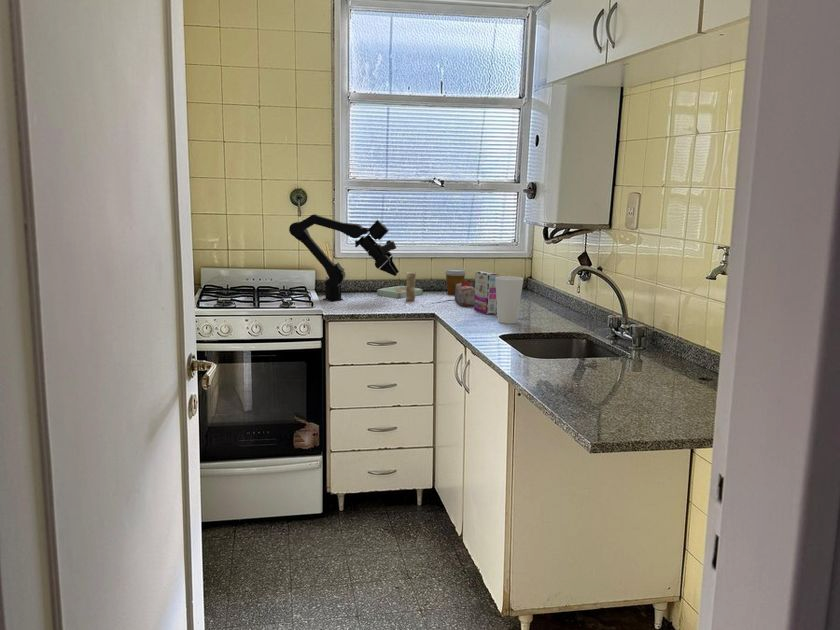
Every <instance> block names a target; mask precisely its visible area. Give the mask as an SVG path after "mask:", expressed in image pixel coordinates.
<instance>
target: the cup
mask: <svg viewBox="0 0 840 630" xmlns="http://www.w3.org/2000/svg"><path fill="white" fill-rule="evenodd" d="M524 280H525V279H524V277H521V276H515V275H514V276H513V275H500V276H497V277H496V278H495V282H496V298H497V322H498V323H500V324H506V325H509V324H516V323H517V321H518V316H519V311H520V310H519V309H520V306H521V303H520V302H521V298H522V291H523V285H524Z"/></svg>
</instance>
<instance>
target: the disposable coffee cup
mask: <svg viewBox="0 0 840 630" xmlns="http://www.w3.org/2000/svg"><path fill="white" fill-rule="evenodd" d="M466 273H467V272H466V269H461V268H447V269H446V270H445V272H444V274H445V278H446V279H445V280H446V291H447V295H450V296H455V286H456V284H459V283H460V282H461V283H463V282H465V276H466Z"/></svg>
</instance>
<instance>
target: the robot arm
mask: <svg viewBox="0 0 840 630" xmlns="http://www.w3.org/2000/svg"><path fill="white" fill-rule="evenodd" d="M314 225H316V226H321V227H323V228H327V229H330V230H334V231H337V232H341V233H342V234H345V236H347V237H350V238H352V239H358V238H359V239H358V240H355V241H354V242H355V243H354V244H355V245H354V246H355V248H358V247H359V246H361V248H362V249H363V250H364V251H365V252H366V253H367V255H368V256H369V257H371V258H372V260H374V266H375V268H376V269H378V270H380V271H382V272H385V273H387V274H390V275H391V276H394V277H396V276H397V275H398V273H399V269H398V268H397V265H395V262H394V260H393V258H394V256H393V254H392V252H391V251H392V250H393V251H394V250H395V249H397V246H396V245H397V244H396V243H395V241H392V240H390V239H389V240H386V243H385V244H384V245H381V244H379V243H377V241H376V240H378V241H380V240H381V239H382V238H384V237H385V236H386V235H387V234H388V232H390V231H389V228H388V227H387V226H386V225H385V224H383V223H382V222H381V221H380V220H378V219H377V220H376V221H375V222H374V223H373V224H372V225H371V226H370V227H364V226H362V225H361V224H359V223H352V222H342V221H339V220H336V219H335V220H334V219H331V218H328V217H325V216H320V215H318V214H316V213H314V214H311V215H310V216H308V217H307V218H305V219H303V220H301V221H296V222H293V223H291V224H290V225H289V227H288V232H289V233H290V235H291V236H293V237H294V238H295V239H296V240H298V241H299V242H301V243H302V244H303V245H304V246H305V247H306V248H307V250H308V251H309V252H310V253H311V254H312V255H313V257H315V259H316V260H317V262H318V263H320V264H321V266H322V267H323V268H324V271H325V272H326V275H327V276H328V277H329V278H327V280H325V282H324V285H325V286H324V287H325V289H324V290H325V297H324V298H322V300H324V301H329V302H337V301H339V302H340V301H343V300H344V298H342V288H341V287H342V285H341V284H342V282H343V281H344V280H345V279H346V272H345V268H343V267H342V266H341V263H339V262H336V263H334V262H333V261H332V260H331V259H330V258H329V257H328V256H327V254H326V253H325V252H324V251H323V250H322V248H321V247H320V246H319V245H318V244H317V243H316V242H315V240H314V239H313V238H312V237H311V235H310V233H309V230H308V229H309V228H311V227H312V226H314ZM364 235H366V236H364Z"/></svg>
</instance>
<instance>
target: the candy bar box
mask: <svg viewBox="0 0 840 630" xmlns="http://www.w3.org/2000/svg"><path fill="white" fill-rule="evenodd" d="M497 276H499V273H495V272H490V271H486V270H476V271H475V277H474V278H475V279H474V288H475V296H474V306H473V311H475V310H476V311H475V312H479V313H481V314H483V315H496V314H497V315H498V313H497V298H496V282H495V278H496V277H497Z"/></svg>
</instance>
